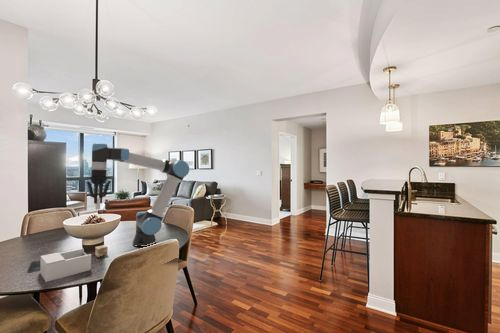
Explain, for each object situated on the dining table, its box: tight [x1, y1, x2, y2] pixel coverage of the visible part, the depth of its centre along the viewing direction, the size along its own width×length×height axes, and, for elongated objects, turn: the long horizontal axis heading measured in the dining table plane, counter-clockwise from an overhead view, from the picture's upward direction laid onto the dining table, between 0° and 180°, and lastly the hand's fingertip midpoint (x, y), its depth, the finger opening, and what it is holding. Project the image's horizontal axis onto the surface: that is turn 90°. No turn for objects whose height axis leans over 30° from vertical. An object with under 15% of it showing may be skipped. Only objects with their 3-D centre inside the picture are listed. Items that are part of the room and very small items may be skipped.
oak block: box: [94, 244, 108, 258], centre depth 143 cm, size 5×5×5 cm
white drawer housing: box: [39, 248, 92, 283], centre depth 119 cm, size 18×14×9 cm
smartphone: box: [27, 260, 41, 274], centre depth 125 cm, size 8×1×15 cm
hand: (97, 208), depth 137 cm, fingers closed
